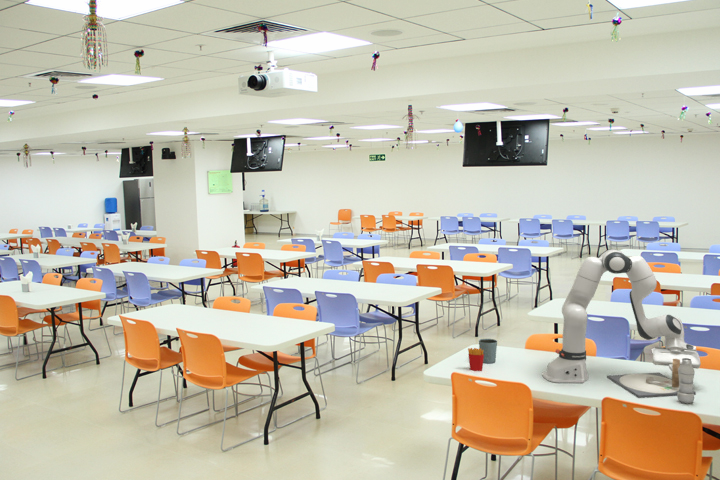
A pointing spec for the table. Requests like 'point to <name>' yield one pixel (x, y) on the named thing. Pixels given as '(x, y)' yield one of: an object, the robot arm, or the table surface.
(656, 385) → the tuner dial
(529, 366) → the table surface
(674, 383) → the needle lever
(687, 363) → the plastic bottle
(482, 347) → the grey bucket
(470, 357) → the french fries
